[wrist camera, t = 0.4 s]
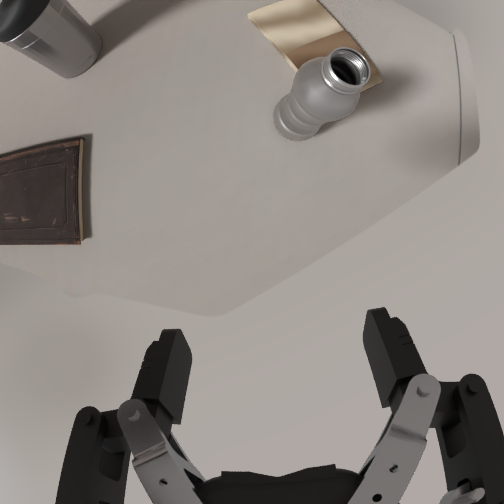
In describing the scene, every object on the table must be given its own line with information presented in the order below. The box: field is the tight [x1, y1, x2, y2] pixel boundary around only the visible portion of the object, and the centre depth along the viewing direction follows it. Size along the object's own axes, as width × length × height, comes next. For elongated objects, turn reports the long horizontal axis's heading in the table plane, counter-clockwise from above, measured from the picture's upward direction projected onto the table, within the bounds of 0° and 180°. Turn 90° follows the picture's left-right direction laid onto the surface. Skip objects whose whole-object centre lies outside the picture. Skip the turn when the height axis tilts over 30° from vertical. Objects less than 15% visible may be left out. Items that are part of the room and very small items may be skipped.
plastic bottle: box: [274, 47, 371, 141], centre depth 26 cm, size 6×7×20 cm
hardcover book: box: [0, 138, 85, 245], centre depth 34 cm, size 16×23×2 cm
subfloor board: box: [248, 0, 383, 93], centre depth 32 cm, size 20×12×1 cm, turn 34°
